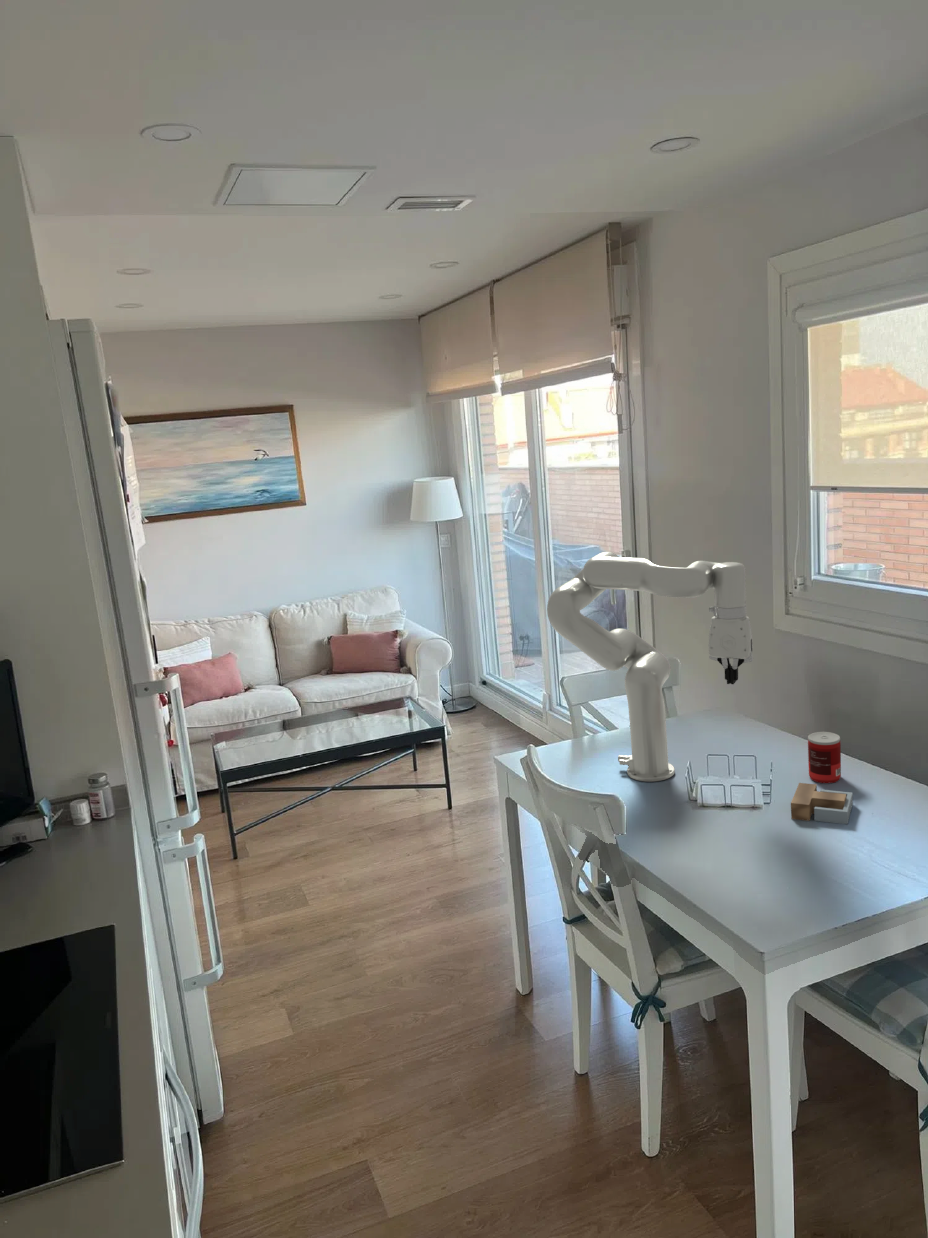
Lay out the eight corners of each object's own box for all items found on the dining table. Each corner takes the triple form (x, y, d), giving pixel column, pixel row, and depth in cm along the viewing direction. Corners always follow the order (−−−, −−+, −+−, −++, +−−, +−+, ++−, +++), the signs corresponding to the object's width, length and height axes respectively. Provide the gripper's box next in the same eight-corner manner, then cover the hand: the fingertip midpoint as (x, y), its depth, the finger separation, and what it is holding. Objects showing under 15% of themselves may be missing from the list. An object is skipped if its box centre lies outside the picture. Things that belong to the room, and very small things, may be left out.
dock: (814, 820, 206) (814, 808, 205) (821, 801, 215) (820, 789, 215) (847, 824, 203) (847, 812, 202) (852, 804, 212) (852, 792, 211)
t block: (791, 819, 208) (790, 803, 207) (799, 798, 218) (799, 782, 217) (842, 824, 203) (842, 808, 202) (848, 803, 213) (848, 787, 212)
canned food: (835, 770, 231) (834, 730, 229) (845, 783, 224) (844, 741, 221) (804, 772, 232) (804, 732, 230) (813, 784, 225) (812, 743, 222)
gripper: (696, 614, 223) (698, 684, 227) (757, 616, 216) (758, 689, 220) (704, 607, 230) (706, 676, 234) (764, 610, 222) (765, 680, 226)
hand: (731, 682), depth 227 cm, fingers closed
